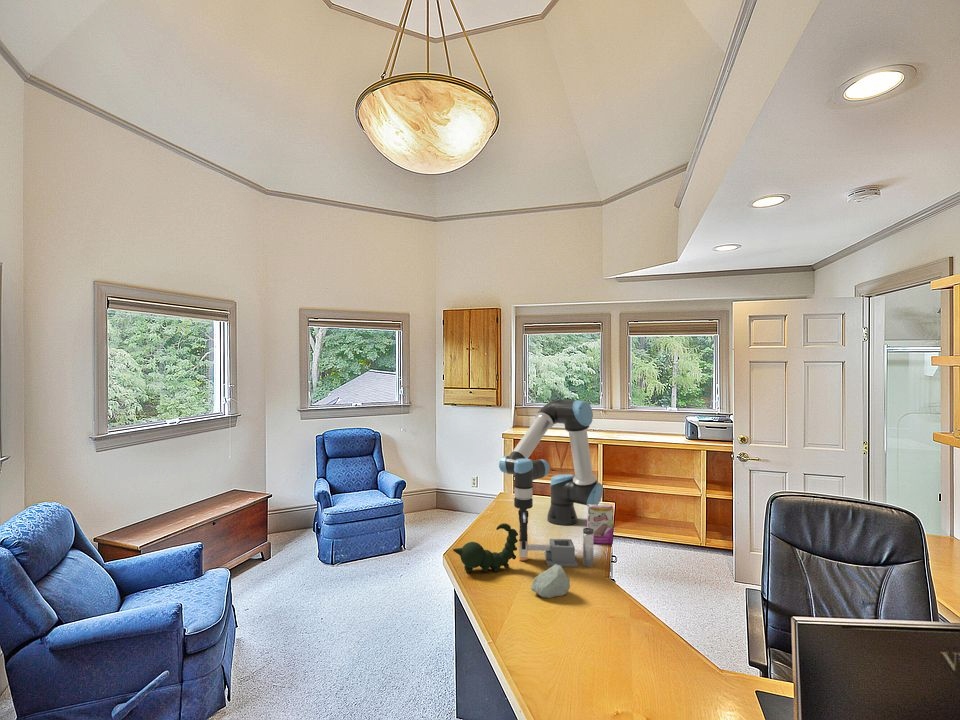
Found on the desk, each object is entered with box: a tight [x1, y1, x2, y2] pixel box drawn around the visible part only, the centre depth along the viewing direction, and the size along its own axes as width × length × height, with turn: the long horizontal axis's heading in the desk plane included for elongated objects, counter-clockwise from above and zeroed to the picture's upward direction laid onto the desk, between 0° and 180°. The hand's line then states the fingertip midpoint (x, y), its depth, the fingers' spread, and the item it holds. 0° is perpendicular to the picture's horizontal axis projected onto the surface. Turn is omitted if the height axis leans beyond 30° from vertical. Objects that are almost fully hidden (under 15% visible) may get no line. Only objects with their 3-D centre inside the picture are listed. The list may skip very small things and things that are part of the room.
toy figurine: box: [452, 522, 519, 573], centre depth 189 cm, size 9×19×25 cm
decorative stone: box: [530, 564, 571, 599], centre depth 170 cm, size 13×11×10 cm
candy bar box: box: [586, 504, 614, 545], centre depth 219 cm, size 11×5×16 cm, turn 84°
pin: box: [518, 532, 559, 561], centre depth 199 cm, size 3×16×10 cm, turn 88°
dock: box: [543, 538, 579, 568], centre depth 199 cm, size 12×12×7 cm
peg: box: [582, 527, 594, 568], centre depth 195 cm, size 4×4×14 cm
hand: (523, 554), depth 200 cm, fingers closed on pin, 3 cm apart
